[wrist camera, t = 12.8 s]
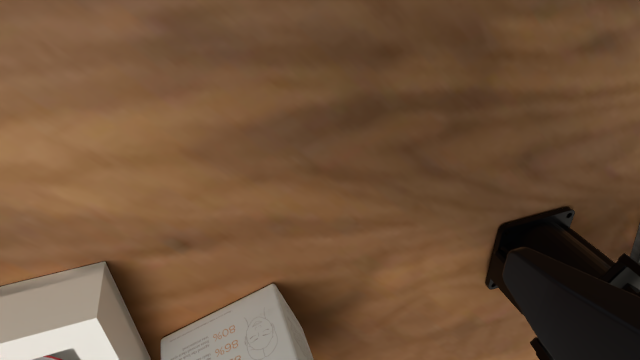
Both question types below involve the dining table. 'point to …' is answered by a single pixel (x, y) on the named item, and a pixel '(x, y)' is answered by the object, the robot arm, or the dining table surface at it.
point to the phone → (636, 247)
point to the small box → (242, 332)
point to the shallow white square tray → (68, 318)
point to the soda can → (47, 358)
